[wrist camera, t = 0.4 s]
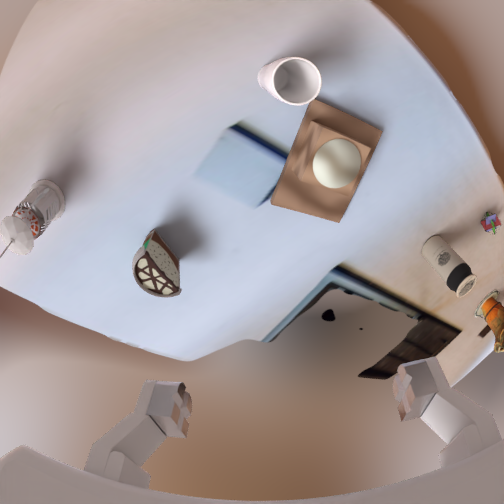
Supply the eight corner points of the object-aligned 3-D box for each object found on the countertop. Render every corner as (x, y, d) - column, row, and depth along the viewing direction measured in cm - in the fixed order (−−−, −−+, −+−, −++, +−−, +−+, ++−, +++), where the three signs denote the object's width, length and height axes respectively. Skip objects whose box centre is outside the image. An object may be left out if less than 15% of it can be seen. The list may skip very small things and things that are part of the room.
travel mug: (443, 246, 74) (478, 285, 59) (424, 262, 76) (457, 303, 61) (438, 229, 69) (477, 269, 55) (418, 245, 71) (455, 288, 57)
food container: (127, 237, 57) (117, 266, 49) (150, 223, 56) (142, 252, 48) (161, 275, 64) (157, 307, 56) (183, 264, 64) (181, 296, 55)
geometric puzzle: (479, 237, 71) (500, 240, 65) (478, 222, 68) (500, 225, 61) (482, 221, 74) (502, 223, 67) (481, 206, 70) (502, 208, 64)
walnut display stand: (311, 98, 46) (327, 103, 40) (378, 129, 51) (400, 140, 45) (270, 201, 58) (279, 220, 51) (336, 219, 62) (350, 238, 56)
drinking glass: (271, 52, 41) (297, 46, 29) (299, 78, 44) (332, 83, 32) (244, 78, 43) (259, 80, 31) (272, 103, 46) (297, 116, 34)
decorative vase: (494, 282, 92) (529, 326, 71) (503, 290, 102) (533, 329, 80) (465, 316, 102) (496, 361, 80) (478, 320, 112) (505, 360, 90)
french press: (24, 209, 48) (-35, 283, 28) (37, 164, 44) (-36, 229, 24) (58, 228, 53) (8, 310, 33) (73, 184, 48) (12, 261, 28)
